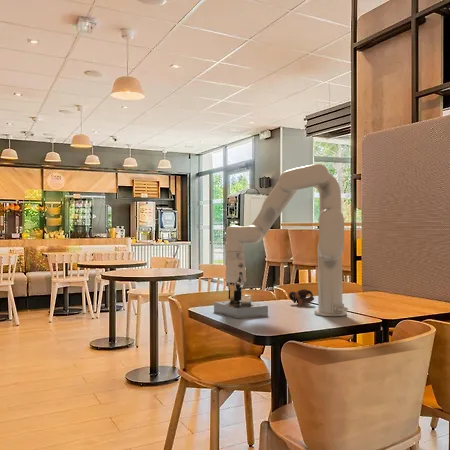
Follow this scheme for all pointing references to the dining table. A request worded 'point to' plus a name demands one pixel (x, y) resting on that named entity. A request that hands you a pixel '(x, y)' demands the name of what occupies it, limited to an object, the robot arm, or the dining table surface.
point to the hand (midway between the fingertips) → (234, 299)
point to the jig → (241, 308)
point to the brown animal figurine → (301, 297)
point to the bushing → (232, 289)
